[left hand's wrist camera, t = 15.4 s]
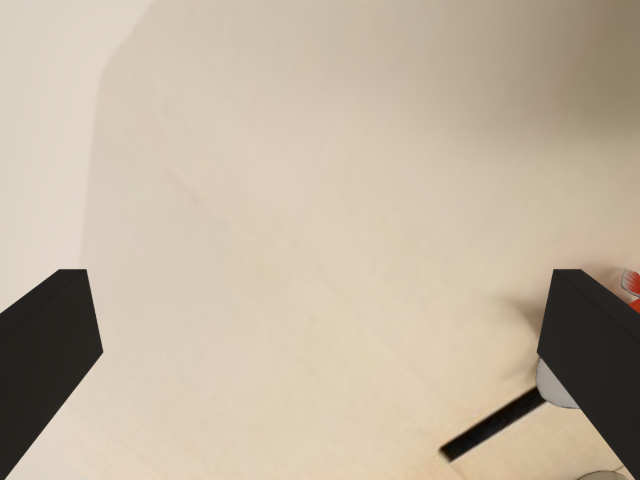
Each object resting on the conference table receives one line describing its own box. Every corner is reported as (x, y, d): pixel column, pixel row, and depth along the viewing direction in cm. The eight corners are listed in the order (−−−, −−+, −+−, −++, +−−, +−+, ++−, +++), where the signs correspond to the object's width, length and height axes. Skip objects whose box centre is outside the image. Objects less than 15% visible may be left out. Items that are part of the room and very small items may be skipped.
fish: (748, 358, 38) (785, 430, 30) (559, 389, 47) (548, 450, 39) (690, 246, 38) (711, 287, 30) (512, 299, 47) (491, 342, 39)
